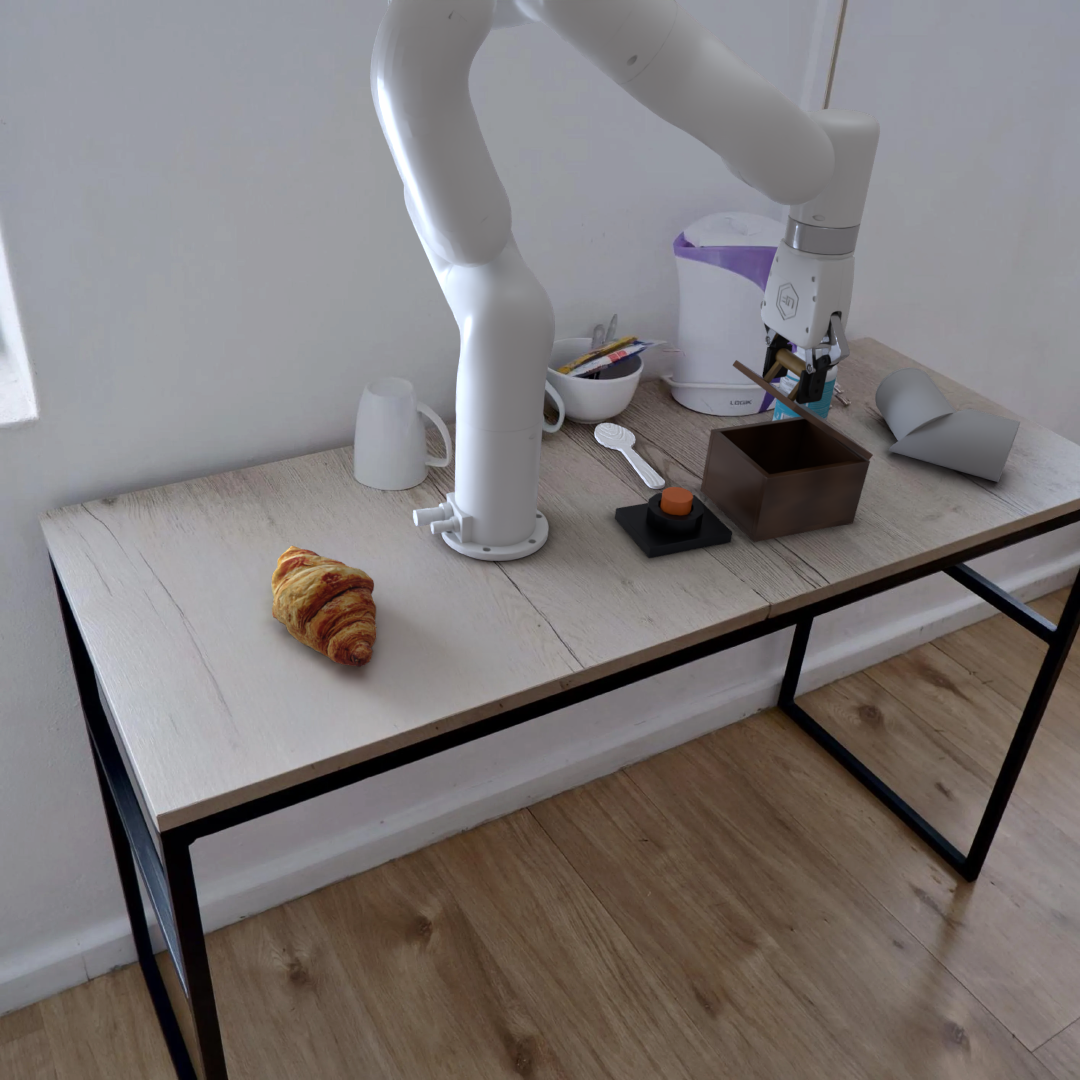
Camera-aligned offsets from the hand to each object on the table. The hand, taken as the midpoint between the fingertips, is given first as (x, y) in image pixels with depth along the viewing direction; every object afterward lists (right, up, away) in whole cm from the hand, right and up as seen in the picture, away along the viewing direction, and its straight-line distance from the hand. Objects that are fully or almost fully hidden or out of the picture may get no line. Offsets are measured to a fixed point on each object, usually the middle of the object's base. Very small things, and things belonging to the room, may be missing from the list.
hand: (791, 387), depth 118 cm
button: (-13, -14, +2) cm, 19 cm away
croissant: (-51, -26, -14) cm, 59 cm away
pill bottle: (+8, -2, +28) cm, 29 cm away
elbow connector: (+26, -5, +26) cm, 37 cm away
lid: (+2, -3, +3) cm, 4 cm away
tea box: (0, -13, +10) cm, 17 cm away
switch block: (-13, -17, +3) cm, 22 cm away
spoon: (-17, -6, +18) cm, 26 cm away
